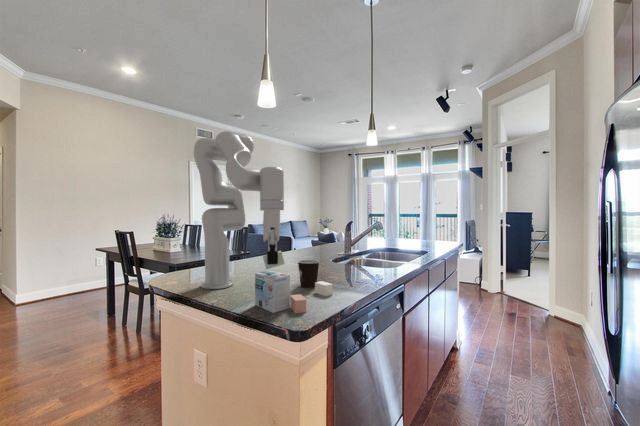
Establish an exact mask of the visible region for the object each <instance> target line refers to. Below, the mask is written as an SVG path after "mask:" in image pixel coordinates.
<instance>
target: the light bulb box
mask: <svg viewBox="0 0 640 426" xmlns="http://www.w3.org/2000/svg"><path fill="white" fill-rule="evenodd" d="M290 295H291V275H290V274H287V273H283V272H279V271H276V270H275V271H274V270H272V269H270V270H269V269H268V270H265V271H259V272H255V274H254V305H255V306H257V307H259V308H261V309H263V310H266V311H268V312H271V313H272V314H274V313H278V312H282V311H286V310H289V309H291V308H290Z"/></svg>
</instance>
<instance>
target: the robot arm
mask: <svg viewBox="0 0 640 426" xmlns="http://www.w3.org/2000/svg"><path fill="white" fill-rule="evenodd" d="M254 145H255V144H254V141H253V139H252V137H250V136H249V135H247V134H244V133H240V132H239V133H238V132H235V131H227V130H225V131H224V130H223V131H221V132H219V133H217V135H216V137H215V138H210V137H203V138H199V139H197V140H196V141H195V143H194V146H193V157H194V162H195V164H196V167H197V169H198V173H199V177H200V178H199V179H200V186H201V187H200V188H201V193H202V198H203V202H204V203H205V204H206V205H208V206H213V207H214V206H215V208H213V207H212V208H209V209H206V210H205V211H203V213H202V215H201V224H202V228H203V235H204V236H203V238H204V281H203V282H201V284H200V287H201V289H205V290H220V289H226V288H229V287H232V286H233V285H234V280H232V279H230V241H229V238H228V237H227V236H226V234H225V233H224V232H232V231H233V232H234V231H238V230H239V231H240V230H242V229H244V227H245V225H246V211H245V205H244V199H243V193H242V191H245V192H247V191H248V192H249V191H250V192H259V200H260V201H259V202H260V203H259V207H260V208H259V211H263V214H262V216H263V219H262V221H263V222H262V227H263V228H262V229H263V231H262V235H263V236H262V237H263V239H262V241H263V242H264V243H266V241H267V252H266V255H267V261H268V264H278V251H279V250H278V242H279V241H280V236H281V235H280V234H281V233H280V232H281V211H285V202H284V200H285V198H284V197H285V195H284V194H285V187H284V185H285V181H284V176H285V175H284V169H282V168H281V167H279V166H265V167H262V168H254V167H247V166H248V164H249V163H250V161H251V159H252V153H253V151H254V149H255V148H254V147H255V146H254ZM214 161H220V162H226V163H225V174H226V177H227V179H228V180H229V183H227V182H226V183H225V182H224V181H223V177H222V176H223V175H222V172H221V169H220V168H219V167H218V165H217V164H216V163H215V162H214ZM216 206H219V207H216ZM221 206H223V207H221ZM225 206H226V207H225Z"/></svg>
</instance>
